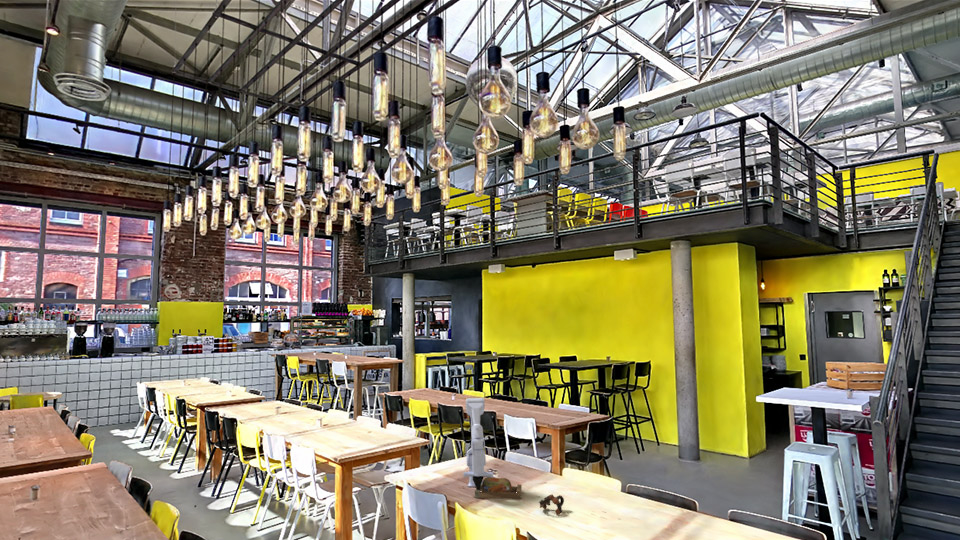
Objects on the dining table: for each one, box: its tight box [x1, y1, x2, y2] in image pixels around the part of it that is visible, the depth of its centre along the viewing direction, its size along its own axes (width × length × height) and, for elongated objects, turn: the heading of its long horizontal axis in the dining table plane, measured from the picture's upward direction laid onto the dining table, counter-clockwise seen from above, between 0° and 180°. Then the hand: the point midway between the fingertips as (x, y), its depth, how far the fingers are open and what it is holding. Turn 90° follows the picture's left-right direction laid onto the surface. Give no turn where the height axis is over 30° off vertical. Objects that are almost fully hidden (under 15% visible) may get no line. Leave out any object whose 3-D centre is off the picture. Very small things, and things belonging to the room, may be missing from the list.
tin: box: [482, 476, 513, 492], centre depth 258 cm, size 15×3×8 cm, turn 65°
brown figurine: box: [538, 493, 565, 516], centre depth 235 cm, size 12×10×8 cm
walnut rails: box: [474, 483, 523, 500], centre depth 258 cm, size 11×22×4 cm, turn 83°
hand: (478, 492), depth 259 cm, fingers closed
